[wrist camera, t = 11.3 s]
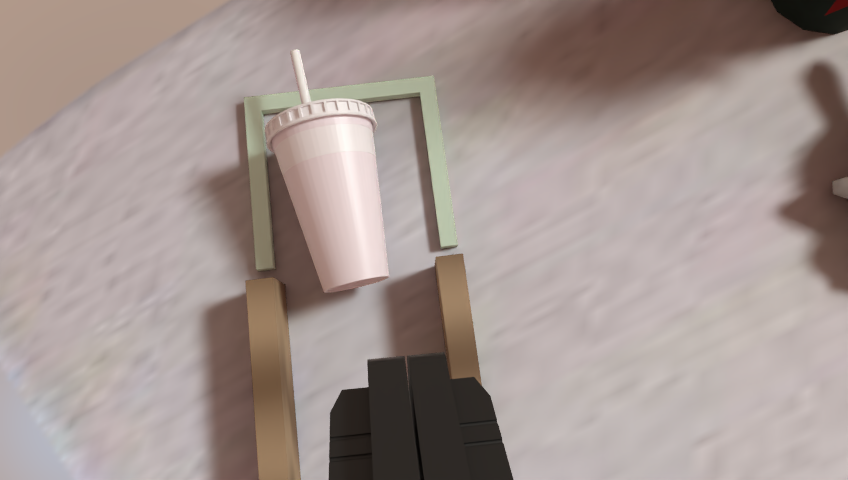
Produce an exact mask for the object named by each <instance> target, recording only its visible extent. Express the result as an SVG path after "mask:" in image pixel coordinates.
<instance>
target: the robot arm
mask: <svg viewBox="0 0 848 480" xmlns="http://www.w3.org/2000/svg"><path fill="white" fill-rule="evenodd" d="M407 364H408V380H407V372H406V364H405V357H404V356H399V357H389V358H379V359H368V383H369V387H367V388H357V389H347V390H342V391H341V393H340V395H339V397H338V399H337V401H336V402H335V404H334V406H333V408H332V410H331V412H330V450H329V459H330V463H329V480H513V477H512V473H511V470H510V466H509V462H508V459H507V455H506V451H505V448H504V444H503V443H502V437H501V433H500V430H499V426H498V424H497V419H496V415H495V411H494V408H493V404H492V400H491V397H490V395H489V394H488V393H487V392H486V390H485V389H484V388H483V387H482V386H481V384H480V383H479V382H478V381H477V380H476V379H475V377H467V378H457V379H450V375H449V371H448V366H447V361H446V356H445V353H444V352H442V353H431V354H421V355H411V356H407ZM408 382H409V388H408Z"/></svg>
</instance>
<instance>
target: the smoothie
mask: <svg viewBox="0 0 848 480" xmlns="http://www.w3.org/2000/svg"><path fill="white" fill-rule="evenodd" d="M290 54H291V59H292V63H293V68H294V72H295V77H296V81H297V85H298V90H299V94H300V99H301V103H302V104H300V105H297V106H294V107H291V108H289V109H287V110H285V111H283V112H281V113H279V114H277V115H276V116H275V117H273V118H272V119H271V120H270V121H269V122H268V123H267V125H266V127H265V135H266V139H267V142H266V143H267V147H268V149H269V150H270V151H271V152H273V153H275V154H276V157H277V160H278V163H279V166H280V169H281V172H282V175H283V178H284V180H285V183H286V186H287V189H288V192H289V195H290V197H291V200H292V203H293V206H294V209H295V212H296V214H297V217H298V220H299V223H300V226H301V229H302V232H303V234H304V237H305V240H306V243H307V246H308V249H309V251H310V254H311V257H312V260H313V263H314V266H315V268H316V271H317V274H318V277H319V280H320V283H321V285H322V288H323V291H324V293H330V292H338V291H344V290H349V289H353V288H358V287H362V286H366V285H369V284H373V283H376V282H379V281H382V280H385V279H387V278H389V270H388V261H387V252H386V243H385V234H384V226H383V217H382V208H381V199H380V190H379V181H378V173H377V164H376V154H375V146H374V138H373V133H374V132H375V131H376V129H377V125H378V124H377V122H376V120H375V117H374V113H373V109H372V108H371V106H369V105H368V104H366V103H365V102H362V101H359V100H354V99H346V98H331V99H322V100H316V101H311V99H310V95H309V90H308V86H307V81H306V77H305V73H304V68H303V64H302V59H301V55H300V51H299V50H292V51H291V52H290Z"/></svg>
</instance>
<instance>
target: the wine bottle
mask: <svg viewBox="0 0 848 480" xmlns="http://www.w3.org/2000/svg"><path fill="white" fill-rule="evenodd" d="M771 1H772V3H773V5H774V6H775V8H776V10H777V12H779V13H780V14H782V15H783V16H785V17H786V18H787V19H789V20H790V21H792V22H793V23H795V24H796V25H798V26H799V27H801V28H802V29H804V30H810V31H817V32H823V33H830V34H837V33H840V32H842V31H845V30H848V0H771Z"/></svg>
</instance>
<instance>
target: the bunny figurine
mask: <svg viewBox="0 0 848 480" xmlns="http://www.w3.org/2000/svg"><path fill="white" fill-rule="evenodd" d="M832 184H833V194H835V195H838V196H840V197H843V198H846V199H848V177H845V178H842V179H838V180H835V181H832Z"/></svg>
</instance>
